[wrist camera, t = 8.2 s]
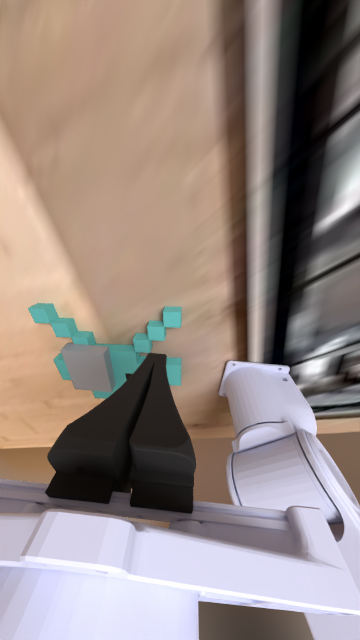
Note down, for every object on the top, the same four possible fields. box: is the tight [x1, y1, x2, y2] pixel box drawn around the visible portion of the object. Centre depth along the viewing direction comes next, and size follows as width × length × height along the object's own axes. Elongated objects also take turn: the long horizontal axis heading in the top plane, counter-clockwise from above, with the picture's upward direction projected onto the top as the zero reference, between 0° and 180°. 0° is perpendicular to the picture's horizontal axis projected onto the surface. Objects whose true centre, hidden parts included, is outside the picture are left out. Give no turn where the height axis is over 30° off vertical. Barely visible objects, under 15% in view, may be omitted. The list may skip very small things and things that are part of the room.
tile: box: [61, 343, 116, 392], centre depth 25 cm, size 2×8×6 cm
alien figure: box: [28, 303, 181, 399], centre depth 27 cm, size 20×2×20 cm
